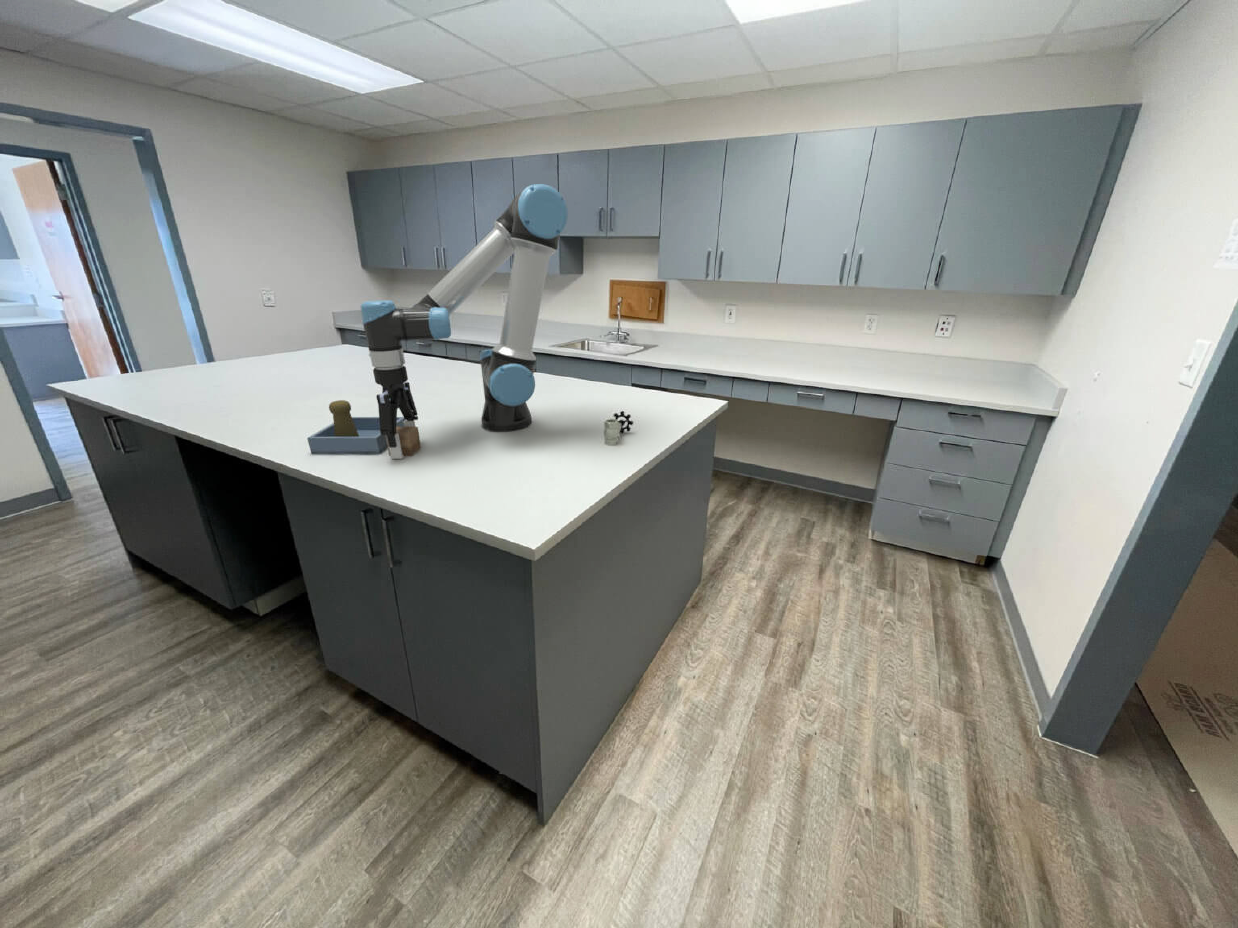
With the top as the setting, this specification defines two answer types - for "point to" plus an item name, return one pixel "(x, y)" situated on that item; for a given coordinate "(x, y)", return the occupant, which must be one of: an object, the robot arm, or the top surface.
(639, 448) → the top surface
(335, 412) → the cork
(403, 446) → the walnut block
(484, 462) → the top surface
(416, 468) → the top surface
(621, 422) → the valve
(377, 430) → the tray
